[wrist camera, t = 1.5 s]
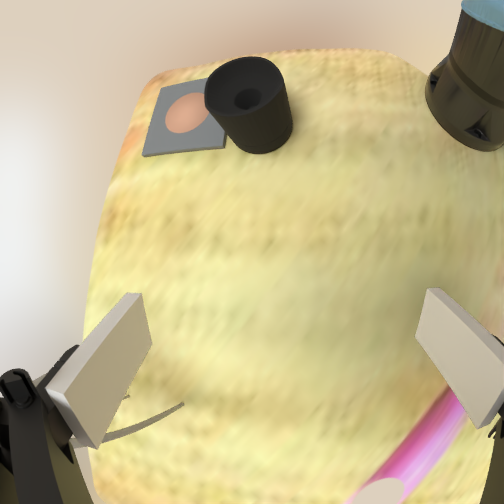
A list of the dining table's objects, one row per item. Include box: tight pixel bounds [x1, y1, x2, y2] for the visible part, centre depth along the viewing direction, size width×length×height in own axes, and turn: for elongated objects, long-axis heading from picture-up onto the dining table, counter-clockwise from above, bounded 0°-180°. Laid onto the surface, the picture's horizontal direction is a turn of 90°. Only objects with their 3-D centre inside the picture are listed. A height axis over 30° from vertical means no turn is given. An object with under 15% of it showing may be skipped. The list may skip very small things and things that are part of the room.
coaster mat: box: [142, 78, 227, 157], centre depth 41 cm, size 14×14×1 cm
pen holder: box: [204, 57, 292, 154], centre depth 33 cm, size 9×9×10 cm
